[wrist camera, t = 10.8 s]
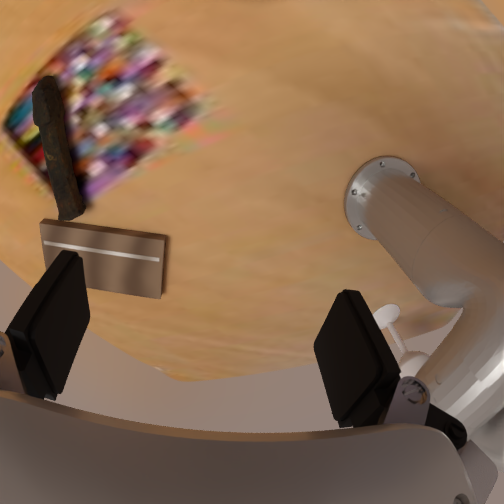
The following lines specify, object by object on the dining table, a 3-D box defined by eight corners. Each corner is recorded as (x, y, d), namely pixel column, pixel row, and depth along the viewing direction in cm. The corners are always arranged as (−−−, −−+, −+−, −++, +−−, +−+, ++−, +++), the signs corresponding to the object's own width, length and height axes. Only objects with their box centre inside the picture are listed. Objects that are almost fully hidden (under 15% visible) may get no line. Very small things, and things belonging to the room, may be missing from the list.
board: (166, 235, 39) (164, 241, 38) (161, 292, 44) (160, 299, 43) (44, 218, 35) (39, 223, 34) (51, 274, 40) (48, 280, 39)
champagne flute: (405, 303, 52) (466, 402, 31) (391, 329, 55) (442, 425, 35) (377, 303, 51) (438, 413, 30) (364, 330, 54) (413, 436, 34)
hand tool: (90, 208, 36) (78, 223, 32) (67, 211, 36) (52, 226, 32) (71, 70, 26) (54, 70, 22) (46, 78, 26) (27, 80, 22)
